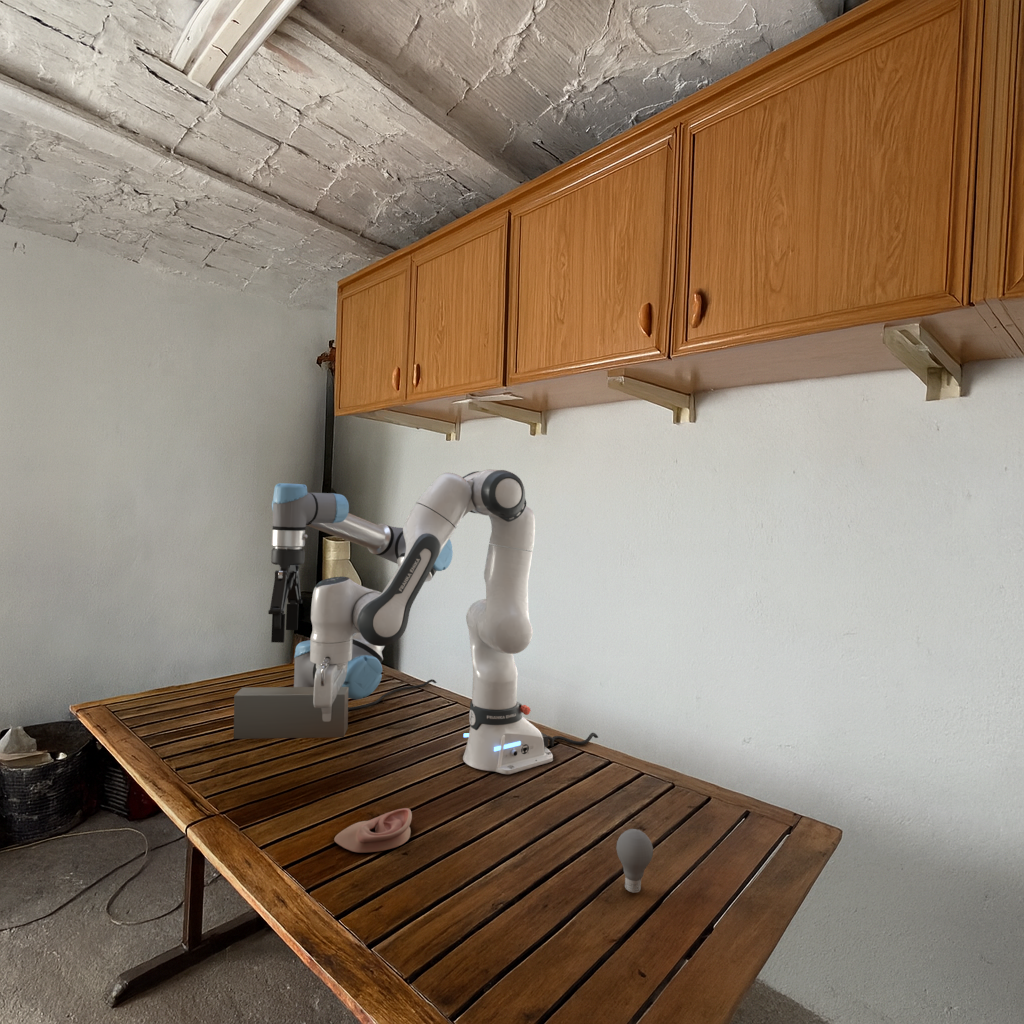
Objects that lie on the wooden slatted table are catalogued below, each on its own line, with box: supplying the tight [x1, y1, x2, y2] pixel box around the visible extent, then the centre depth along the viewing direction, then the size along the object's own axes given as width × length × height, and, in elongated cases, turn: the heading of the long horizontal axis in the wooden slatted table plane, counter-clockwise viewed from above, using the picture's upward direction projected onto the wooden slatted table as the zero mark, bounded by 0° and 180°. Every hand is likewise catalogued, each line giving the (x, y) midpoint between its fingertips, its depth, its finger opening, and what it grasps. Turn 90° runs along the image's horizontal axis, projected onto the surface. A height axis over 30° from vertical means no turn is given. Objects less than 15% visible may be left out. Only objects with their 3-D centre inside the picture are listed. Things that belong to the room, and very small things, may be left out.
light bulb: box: [615, 828, 654, 894], centre depth 106 cm, size 6×6×10 cm
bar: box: [233, 686, 349, 740], centre depth 137 cm, size 23×5×9 cm, turn 96°
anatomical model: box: [333, 807, 413, 854], centre depth 119 cm, size 13×4×12 cm
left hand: (285, 635), depth 152 cm, fingers open, 13 cm apart
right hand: (330, 714), depth 138 cm, fingers closed on bar, 5 cm apart
